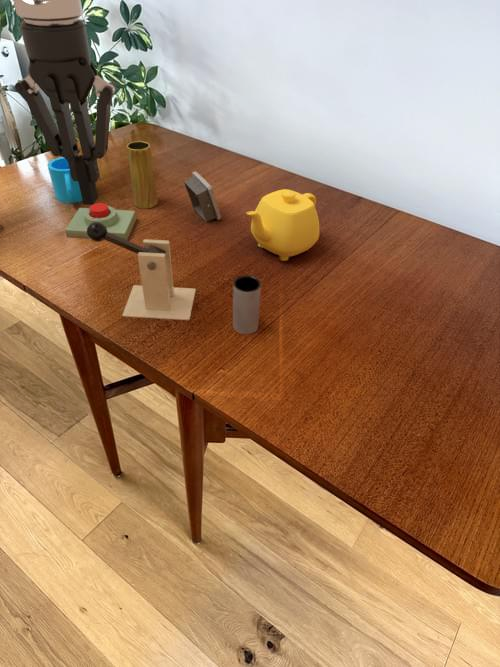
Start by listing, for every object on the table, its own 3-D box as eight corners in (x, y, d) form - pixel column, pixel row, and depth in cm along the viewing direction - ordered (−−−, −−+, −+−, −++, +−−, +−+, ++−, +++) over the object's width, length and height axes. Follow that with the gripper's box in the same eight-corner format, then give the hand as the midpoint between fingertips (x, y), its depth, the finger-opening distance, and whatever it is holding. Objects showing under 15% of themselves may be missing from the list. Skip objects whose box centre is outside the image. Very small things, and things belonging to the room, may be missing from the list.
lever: (82, 240, 75) (86, 225, 73) (88, 230, 77) (92, 215, 75) (157, 272, 79) (164, 258, 77) (161, 261, 81) (167, 247, 79)
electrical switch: (222, 220, 110) (218, 184, 103) (202, 227, 108) (197, 190, 102) (206, 203, 116) (201, 168, 109) (187, 209, 114) (181, 174, 108)
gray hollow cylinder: (232, 337, 81) (232, 291, 74) (233, 320, 84) (233, 274, 77) (258, 338, 81) (261, 292, 74) (257, 321, 84) (260, 275, 77)
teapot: (332, 246, 103) (342, 193, 95) (266, 279, 93) (270, 223, 85) (289, 221, 111) (294, 170, 102) (223, 249, 101) (223, 195, 92)
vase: (131, 209, 112) (122, 150, 102) (135, 197, 117) (126, 139, 107) (156, 209, 113) (150, 150, 103) (159, 197, 117) (153, 140, 107)
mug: (55, 189, 118) (47, 158, 112) (89, 186, 120) (82, 155, 114) (56, 212, 110) (47, 179, 104) (92, 208, 112) (85, 176, 106)
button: (88, 218, 101) (86, 211, 100) (93, 209, 104) (92, 202, 103) (106, 219, 101) (105, 212, 100) (111, 210, 104) (110, 203, 103)
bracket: (122, 320, 83) (110, 260, 74) (134, 289, 89) (124, 231, 81) (189, 324, 83) (185, 265, 74) (196, 293, 89) (193, 235, 81)
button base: (67, 238, 102) (63, 222, 99) (81, 216, 109) (77, 200, 106) (126, 242, 102) (123, 226, 99) (136, 219, 109) (134, 203, 106)
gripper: (-17, 22, 53) (40, 210, 69) (96, 28, 53) (126, 214, 69) (11, 11, 59) (57, 187, 75) (113, 16, 58) (137, 191, 75)
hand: (90, 200), depth 72 cm, fingers closed
